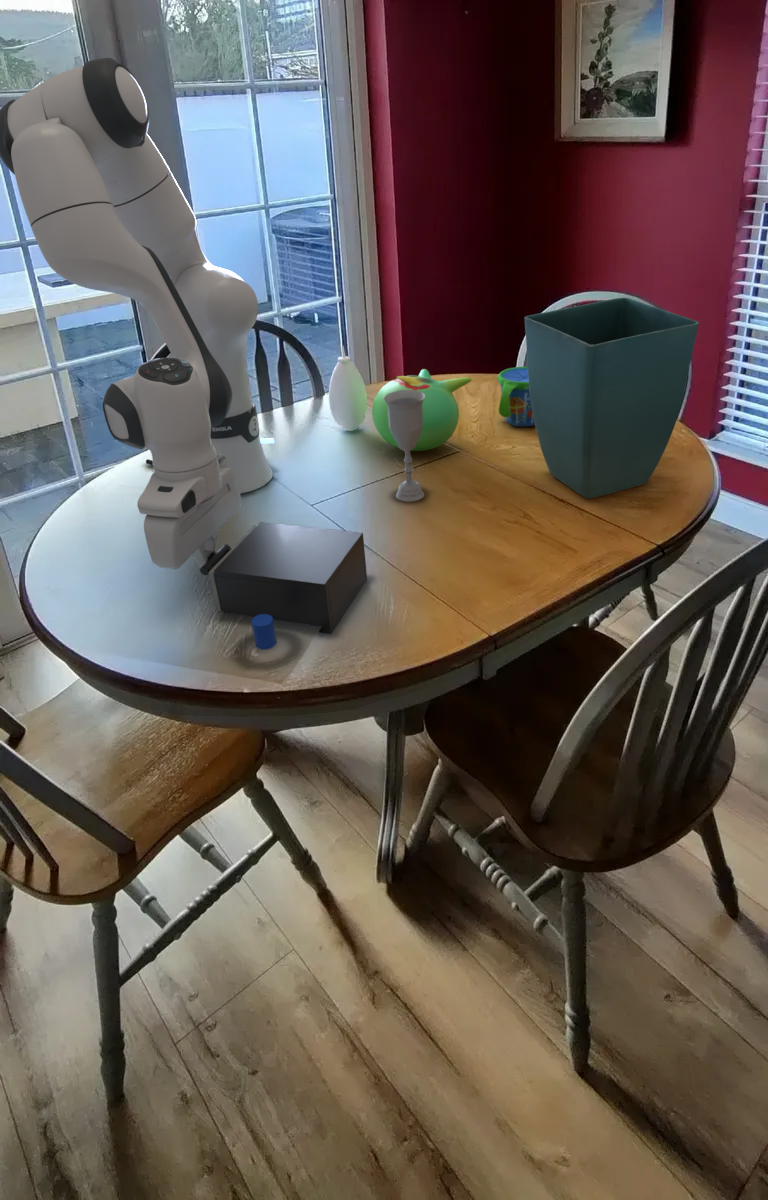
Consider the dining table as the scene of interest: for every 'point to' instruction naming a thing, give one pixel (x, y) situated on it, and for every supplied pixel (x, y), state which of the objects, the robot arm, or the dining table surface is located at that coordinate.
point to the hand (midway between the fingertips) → (207, 563)
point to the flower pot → (606, 390)
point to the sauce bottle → (347, 394)
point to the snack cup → (515, 397)
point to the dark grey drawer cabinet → (293, 574)
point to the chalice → (406, 434)
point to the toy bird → (423, 408)
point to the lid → (264, 631)
